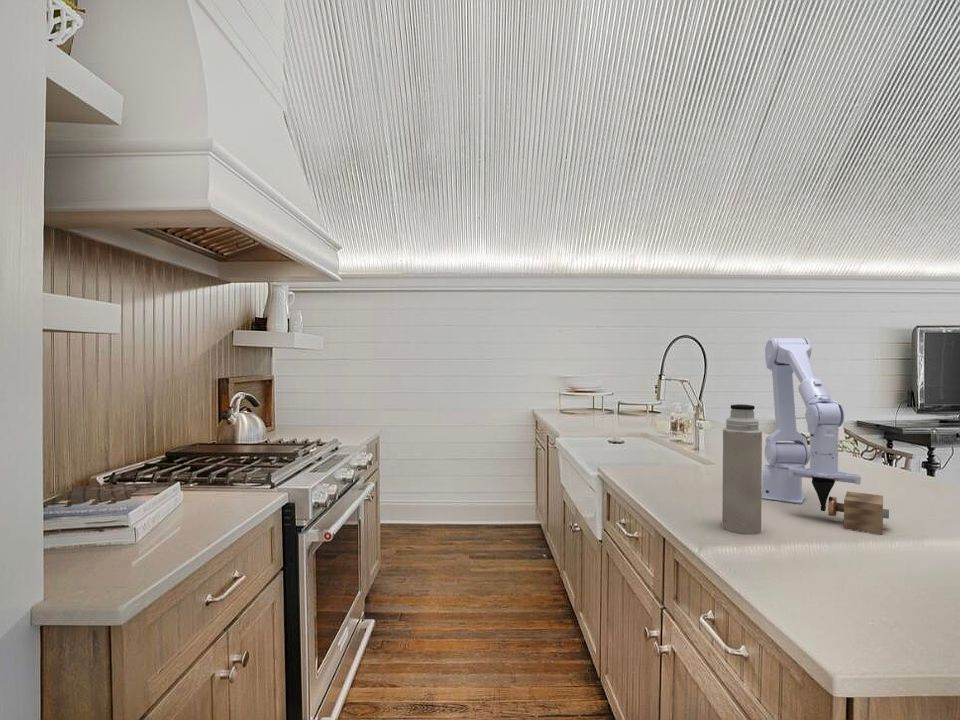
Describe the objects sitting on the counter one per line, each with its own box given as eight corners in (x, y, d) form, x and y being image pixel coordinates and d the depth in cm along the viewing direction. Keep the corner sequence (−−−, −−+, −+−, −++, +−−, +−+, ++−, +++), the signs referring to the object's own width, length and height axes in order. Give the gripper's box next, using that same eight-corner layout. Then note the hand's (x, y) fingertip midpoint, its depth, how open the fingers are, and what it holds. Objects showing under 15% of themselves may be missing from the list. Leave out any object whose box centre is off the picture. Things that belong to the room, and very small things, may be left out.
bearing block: (843, 528, 126) (844, 499, 126) (846, 518, 134) (847, 491, 134) (882, 534, 121) (882, 504, 121) (882, 523, 129) (883, 495, 129)
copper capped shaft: (828, 517, 130) (828, 498, 130) (829, 513, 133) (830, 494, 133) (888, 526, 123) (888, 506, 123) (888, 521, 127) (889, 502, 127)
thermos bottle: (720, 521, 131) (721, 402, 130) (758, 525, 128) (759, 403, 128) (723, 531, 123) (724, 405, 123) (763, 535, 120) (764, 406, 120)
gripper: (786, 452, 133) (786, 508, 133) (859, 459, 125) (859, 519, 125) (791, 448, 139) (790, 502, 139) (861, 454, 130) (860, 512, 130)
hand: (823, 510), depth 132 cm, fingers closed
